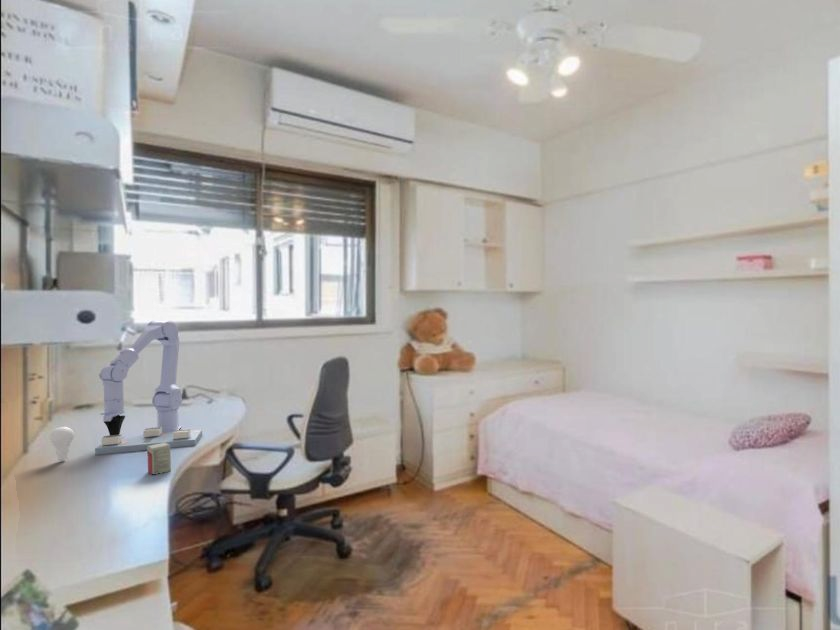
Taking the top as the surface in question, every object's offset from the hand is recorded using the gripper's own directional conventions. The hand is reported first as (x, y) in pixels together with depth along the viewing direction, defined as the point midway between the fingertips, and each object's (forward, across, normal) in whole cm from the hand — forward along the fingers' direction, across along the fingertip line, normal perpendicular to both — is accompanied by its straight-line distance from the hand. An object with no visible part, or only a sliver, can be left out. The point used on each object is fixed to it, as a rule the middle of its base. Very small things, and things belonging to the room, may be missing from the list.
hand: (114, 437), depth 163 cm
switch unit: (+3, 0, +12) cm, 12 cm away
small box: (+4, +35, +22) cm, 41 cm away
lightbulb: (+4, +12, -11) cm, 17 cm away
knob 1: (+1, +3, 0) cm, 3 cm away
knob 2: (+1, -4, +11) cm, 12 cm away
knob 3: (+1, +3, +22) cm, 22 cm away
